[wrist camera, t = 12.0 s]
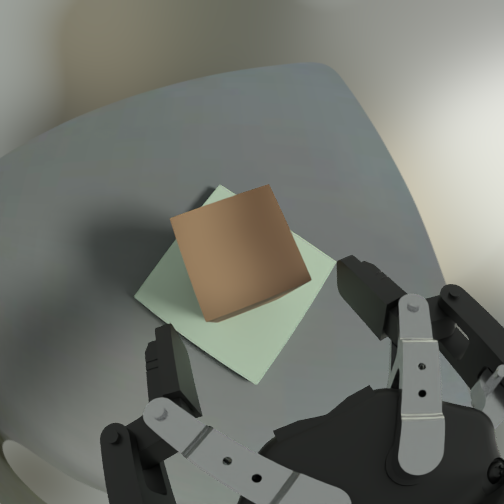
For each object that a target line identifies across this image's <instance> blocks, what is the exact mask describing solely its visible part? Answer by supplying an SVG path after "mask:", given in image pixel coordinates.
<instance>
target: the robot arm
mask: <svg viewBox="0 0 504 504" xmlns="http://www.w3.org/2000/svg"><path fill="white" fill-rule="evenodd" d="M337 286H338V290H339V293H340V295H341V296H342V297H343V299H344V300H345V301H346V302H347V303H348V304H349V305H350V306H351V308H352V309H353V310H354V311H355V312H356V313H357V314H358V315H359V317H360V318H361V319H362V320H363V321H364V322H365V323H366V325H367V326H368V327H369V328H370V329H371V330H372V332H373V333H374V334H375V335H376V336H377V337H378V338H379V340H380V341H381V340H382V339H384V338H386V337H389V338H390V339H391V341H390V359H389V377H388V382H387V388H384V389H376V390H373V389H372V388H371V387H370V385H369V386H367V387H365V388H363V389H362V390H360V391H358V392H356V393H354V394H353V395H351V396H349V397H347V398H346V399H345V400H344V401H343V402H341V403H340V404H339V405H338V406H337V407H336V408H334V409H333V410H332V411H331V412H330V413H328V414H326V415H323V416H319V417H314V418H309V419H304V420H299V421H296V422H294V423H292V424H289V425H287V426H284V427H282V428H279V429H277V430H274V431H273V432H274V434H275V437H274V438H272V439H271V440H270V441H268V442H267V443H266V444H265V445H264V446H263V447H262V448H261V450H260V451H259V452H258V453H256V452H254V451H252V450H250V449H249V448H247V447H245V446H243V445H241V444H240V443H238V442H236V441H235V440H233V439H231V438H229V437H228V436H226V435H224V434H223V433H221V432H220V431H218V430H216V429H215V428H213V427H211V426H207V425H205V424H204V423H202V422H201V421H199V420H198V419H196V418H198V417H201V416H202V412H201V408H200V404H199V400H198V396H197V392H196V388H195V383H194V379H193V374H192V370H191V365H190V361H189V356H188V353H187V350H186V348H185V345H184V344H183V342H182V340H181V339H180V337H179V335H178V333H177V332H176V330H175V328H174V326H173V325H172V324H171V323H170V324H167V325H164V326H161V327H158V328H156V329H155V335H156V341H152V342H149V344H148V346H147V349H146V352H145V359H146V370H147V372H146V374H147V386H148V397H149V403H148V404H147V405H146V407H145V409H144V411H143V415H142V416H141V417H140V418H138V419H137V420H135V421H134V422H132V423H130V424H128V425H127V426H124V425H122V424H120V423H112V424H110V425H108V426H107V427H105V428H104V430H103V431H102V433H101V437H100V443H101V453H102V461H103V469H104V476H105V482H106V488H107V493H108V498H109V503H110V504H176V501H175V498H174V495H173V492H172V489H171V485H170V482H169V479H168V475H167V471H166V468H165V464H164V460H165V459H167V458H169V457H171V456H172V455H174V454H176V453H177V452H180V453H181V454H182V455H183V456H184V457H185V458H186V459H188V460H189V461H190V462H192V463H193V464H194V465H196V466H197V467H199V468H200V469H201V470H203V471H204V472H206V473H207V474H209V475H210V476H211V477H213V478H214V479H216V480H217V481H219V482H220V483H222V484H224V485H225V486H227V487H228V488H230V489H232V490H233V491H235V492H237V493H238V494H240V495H241V496H240V498H239V501H238V503H237V504H504V460H503V458H502V457H501V455H500V453H499V450H498V446H497V442H496V436H495V429H496V428H497V427H498V426H499V425H500V424H501V423H502V422H503V421H504V328H503V327H502V326H501V325H500V324H499V323H498V322H497V321H496V320H495V319H494V318H493V317H492V316H491V315H490V314H489V313H488V312H487V311H486V310H485V309H484V308H483V307H482V306H481V305H480V304H479V303H478V302H477V301H476V300H475V299H473V298H472V297H471V296H470V295H469V294H468V293H467V292H466V291H465V290H464V289H462V288H461V287H460V286H457V285H453V284H449V285H445V286H444V287H443V288H442V289H441V292H440V295H439V296H435V297H431V298H427V299H425V298H424V297H422V296H420V295H418V294H407V293H406V292H405V291H403V290H402V289H401V288H400V287H399V286H398V285H397V284H396V283H394V282H393V281H392V280H391V279H390V278H389V277H387V276H386V275H385V274H384V273H383V272H381V270H379V269H378V268H377V267H376V266H375V265H373V264H371V263H368V262H366V261H363V262H360V261H359V260H358V259H357V258H356V257H355V256H353V255H350V256H348V257H345V258H343V259H341V260H338V261H337ZM456 325H458V326H459V327H460V328H461V329H462V331H463V332H464V333H465V334H466V335H467V336H468V338H469V340H468V339H467V338H466V337H465V336H464V335H463V334H462V333H461V332H460V331H459V329H458V328H457V327H456ZM439 351H440V352H441V353H442V354H443V355H444V357H445V358H446V359H447V360H448V361H449V363H450V364H451V365H452V366H453V368H454V369H455V370H456V371H457V373H458V374H459V375H460V376H461V378H462V379H463V380H464V381H465V383H466V384H467V385H468V387H469V388H470V389H471V399H472V400H471V405H472V407H474V408H471V407H466V406H462V405H457V404H453V403H448V402H444V401H442V385H441V368H440V356H439Z"/></svg>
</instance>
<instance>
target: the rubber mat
mask: <svg viewBox="0 0 504 504" xmlns="http://www.w3.org/2000/svg"><path fill="white" fill-rule="evenodd" d="M234 195H236V194H234V193H232V192H231V191H229V190H228V189H226V188H225V187H223V186H221V185H219V186H218V187H217V189H216V190H215V191H214V192H213V193H212V195H211V196H210V197H209V198H208V199H207V201H206V202H205V203H204V204H203V206H205V205H208V204H211V203H214V202H217V201H220V200H222V199H225V198H228V197H231V196H234ZM290 231H291V230H290ZM291 233H292V235H293V238H294V240H295V242H296V244H297V247H298V249H299V251H300V253H301V256H302V258H303V260H304V263H305V265H306V267H307V270H308V272H309V274H310V277H311V279H312V280H311V281H309V282H308V283H306V284H304V285H302V286H301V287H299V288H297V289H295V290H294V291H292V292H290V293H288V294H286V295H285V296H283V297H281V298H279V299H277V300H275V301H272V302H270V303H267V304H265V305H262V306H260V307H257V308H255V309H252V310H250V311H247V312H245V313H242V314H240V315H237V316H234V317H232V318H229V319H226V320H224V321H221V322H218V323H214V322H206V321H205V318H204V316H203V313H202V310H201V308H200V305H199V302H198V300H197V297H196V294H195V292H194V289H193V286H192V283H191V280H190V278H189V275H188V272H187V269H186V266H185V263H184V260H183V257H182V255H181V252H180V249H179V246H178V243H177V239H176V240H175V241H174V243H173V244H172V245H171V246H170V248H169V249H168V250H167V252H166V253H165V254H164V256H163V257H162V258H161V260H160V261H159V263H158V264H157V265H156V267H155V268H154V269H153V271H152V272H151V273H150V275H149V276H148V278H147V279H146V280H145V282H144V283H143V285H142V286H141V287H140V289H139V290H138V292H137V293H136V295H135V296H134V297H135V298H136V299H137V300H138V301H140V302H141V303H142V304H143V305H144V306H146V307H147V308H148V309H149V310H151V311H152V312H153V313H154V314H156V315H157V316H158V317H159V318H161V319H162V320H163V321H165V322H166V323H167V324H170V323H171V324H172V325H173V326H174V328H175V330H176V331H178V332H179V333H180V334H182V335H183V336H184V337H186V338H187V339H188V340H190V341H191V342H193V343H194V344H195V345H197V346H198V347H200V348H201V349H202V350H204V351H205V352H207V353H208V354H210V355H211V356H213V357H214V358H215V359H217V360H218V361H220V362H221V363H223V364H224V365H226V366H227V367H229V368H230V369H232V370H233V371H235V372H237V373H238V374H240V375H241V376H243V377H244V378H246V379H248V380H249V381H251V382H252V383H254V384H256V385H257V384H258V382H259V381H260V380H261V378H262V377H263V376H264V374H265V373H266V371H267V370H268V368H269V367H270V366H271V364H272V363H273V361H274V360H275V358H276V357H277V355H278V354H279V353H280V351H281V350H282V348H283V347H284V345H285V344H286V342H287V341H288V339H289V338H290V336H291V335H292V333H293V332H294V330H295V329H296V327H297V326H298V324H299V322H300V321H301V319H302V318H303V316H304V315H305V313H306V311H307V310H308V308H309V307H310V305H311V303H312V302H313V300H314V299H315V297H316V295H317V294H318V292H319V290H320V289H321V287H322V286H323V284H324V282H325V281H326V279H327V277H328V275H329V274H330V272H331V270H332V269H333V267H334V265H335V263H336V261H334V260H333V259H332V258H330V257H329V256H327V255H326V254H324V253H323V252H321V251H320V250H319V249H317V248H316V247H314V246H313V245H311V244H310V243H308V242H307V241H305V240H304V239H302V238H301V237H300V236H298V235H297V234H295V233H294V232H292V231H291Z"/></svg>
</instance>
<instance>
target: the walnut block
mask: <svg viewBox="0 0 504 504" xmlns="http://www.w3.org/2000/svg"><path fill="white" fill-rule="evenodd" d="M170 221H171V224H172V227H173V230H174V233H175V236H176V239H177V243H178V246H179V249H180V252H181V255H182V257H183V260H184V263H185V266H186V269H187V272H188V275H189V278H190V280H191V283H192V286H193V289H194V292H195V294H196V297H197V300H198V302H199V305H200V308H201V310H202V313H203V316H204V318H205V321H206V322H214V323H218V322H221V321H224V320H226V319H229V318H232V317H234V316H237V315H240V314H242V313H245V312H247V311H250V310H252V309H255V308H257V307H260V306H262V305H265V304H267V303H270V302H272V301H275V300H277V299H279V298H281V297H283V296H285V295H286V294H288V293H290V292H292V291H294V290H295V289H297V288H299V287H301V286H302V285H304V284H306V283H308V282H309V281H311V280H312V279H311V277H310V274H309V272H308V270H307V267H306V265H305V263H304V260H303V258H302V256H301V253H300V251H299V249H298V247H297V244H296V242H295V240H294V238H293V235H292V233H291V231H290V229H289V226H288V224H287V222H286V220H285V218H284V215H283V213H282V211H281V209H280V207H279V205H278V202H277V200H276V198H275V196H274V194H273V192H272V190H271V187H270V185H269V184H268V185H265V186H262V187H259V188H256V189H252V190H249V191H246V192H243V193H240V194H237V195H234V196H231V197H228V198H225V199H222V200H220V201H217V202H214V203H211V204H208V205H205V206H202V207H200V208H197V209H194V210H191V211H189V212H186V213H183V214H180V215H178V216H175V217H172V218H170Z"/></svg>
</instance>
